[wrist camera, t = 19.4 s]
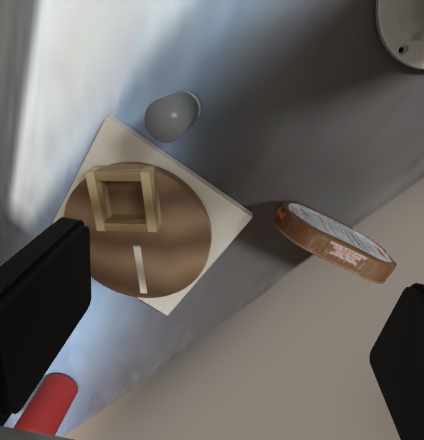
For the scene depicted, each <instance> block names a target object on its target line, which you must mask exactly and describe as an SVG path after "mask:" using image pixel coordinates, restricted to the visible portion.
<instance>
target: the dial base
mask: <svg viewBox="0 0 424 440" xmlns="http://www.w3.org/2000/svg"><path fill="white" fill-rule="evenodd" d="M120 162H142V163H147V164H152V165H155V166H158V167H161V168H163V169H165V170H167V171H169V172H171V173H173V174H174V175H176V176H178V177H179V178H180V179H182V180H183V181H184V182H185V183H187V184H188V185H189V186H190V187H191V188H192V189H193V190H194V191H195V193H196V194H197V195H198V197H199V198H200V199H201V201H202V203H203V205H204V206H205V208H206V211H207V213H208V216H209V220H210V223H211V231H212V240H211V246H210V251H209V256H208V259H207V262H206V265H205V267H204V269H203V271H202V272H201V274H200V275H199V276H198V278H197V279H196V280H195V281H194V282H193V283H192V284H190V285H189V286H188V287H186V288H185V289H183V290H181V291H179V292H177V293H174V294H172V295H168V296H164V297H158V298H140V297H137V298H139V299H140V300H142V301H144V302H145V303H147V304H149V305H150V306H152V307H154V308H155V309H157V310H159V311H160V312H162V313H164V314H166V315H167V316H168V315H169V313H170V312H171V311H172V310H173V309H174V308H175V306H176V305H177V304H178V303H179V302H180V301H181V300H182V298H183V297H184V296H185V295H186V294H187V293H188V291H189V290H190V289H191V288H192V287H193V286H194V285H195V283H196V282H197V281H198V280H199V279H200V278H201V276H202V275H203V274H204V273H205V272H206V271H207V270H208V268H209V267H210V266H211V265H212V264H213V263H214V261H215V260H216V259H217V258H218V257H219V256H220V255H221V253H222V252H223V251H224V250H225V249H226V248H227V246H228V245H229V244H230V243H231V242H232V241H233V240H234V238H235V237H236V236H237V235H238V234H239V233H240V231H241V230H242V229H243V228H244V227H245V226H246V225H247V223H248V222H249V221H250V220H251V219H252V212H251V211H249V210H248V209H246V208H245V207H243V206H242V205H241V204H239V203H238V202H236V201H235V200H233V199H232V198H230V197H229V196H228V195H226V194H225V193H223V192H222V191H220V190H219V189H218V188H216V187H215V186H213V185H212V184H210V183H209V182H208V181H206V180H205V179H203V178H202V177H200V176H199V175H197V174H196V173H195V172H193V171H192V170H190V169H189V168H187V167H186V166H185V165H183V164H182V163H180V162H179V161H177V160H176V159H174V158H173V157H172V156H170V155H169V154H167V153H166V152H164V151H163V150H162V149H160V148H159V147H157V146H156V145H154V144H153V143H152V142H150V141H149V140H147V139H146V138H144V137H143V136H141V135H140V134H139V133H137V132H136V131H134V130H133V129H131V128H130V127H129V126H127V125H126V124H124V123H123V122H121V121H120V120H118V119H117V118H116V117H114V116H113V115H109V116H107V117H106V119H105V120H104V122H103V124H102V126H101V128H100V130H99V132H98V134H97V136H96V138H95V140H94V142H93V144H92V146H91V148H90V150H89V152H88V154H87V156H86V158H85V160H84V162H83V164H82V166H81V168H80V170H79V172H78V174H77V176H76V178H75V180H74V182H73V184H72V186H71V188H70V190H69V191H68V193H67V195H66V197H65V199H64V201H63V203H62V205H61V207H60V209H59V211H58V213H57V215H56V217H55V219H54V221H53V223H54V222H56V221H57V220H58V219H59V218H61V217H64V211H65V207H66V203H67V201H68V199H69V197H70V195H71V193H72V192H73V190H74V189H75V188H76V187H77V186H78V184H79V183H80V182H82V181H83V180H84V179H85V178H86V176H85V172H86V171H87V170H89V169H90V168H92V167H93V166H108V165H111V164H115V163H120ZM53 223H52V224H53Z"/></svg>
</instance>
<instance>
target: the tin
mask: <svg viewBox="0 0 424 440" xmlns="http://www.w3.org/2000/svg"><path fill="white" fill-rule="evenodd" d="M272 221H273V224H274V225H275V227H276V228H277V229H278V230H279V231H280V232H281V233H282V234H283V235H284V236H285V237H286V238H288V239H289V240H290V241H292V242H293V243H295V244H296V245H298V246H299V247H301V248H303V249H304V250H307V251H308V252H310V253H313V254H315V255H317V256H319V257H321V258H323V259H325V260H327V261H329V262H332V263H333V264H336V265H338V266H340V267H342V268H344V269H346V270H348V271H350V272H352V273H354V274H356V275H358V276H360V277H362V278H364V279H367V280H369V281H371V282H375V283H380V284H382V283H384V282H385V281H386V279H387V277H388V276H389V275H390V274H391V273H392V271H393V270H394V269H395V267H396V263H395V262H394V261H393V260H392V258H391V257H390V256H389V255H388V254H387V253H386V251H385V250H384V249H383V248H382V247H381V246H380V245H378V244H377V243H375V242H374V241H372V240H371V239H369V238H368V237H366V236H365V235H363V234H361V233H359V232H358V231H356V230H353V229H352V228H350V227H348V226H346V225H344V224H342V223H340V222H338V221H336V220H334V219H332V218H330V217H328V216H326V215H324V214H322V213H320V212H318V211H316V210H314V209H312V208H310V207H307V206H305V205H303V204H300V203H297V202H294V201H285V202H284V203H283V204H282V205H281V206H280V208H279V209H278V211H277V213H276V215H275V216H273V218H272Z"/></svg>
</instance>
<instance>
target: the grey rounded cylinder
mask: <svg viewBox="0 0 424 440" xmlns="http://www.w3.org/2000/svg"><path fill="white" fill-rule="evenodd" d="M200 114H201V102H200V100H199V98H198V97H197V95H196V94H194V93H193V92H191V91H186V90H185V91H180V92H177V93H175V94H172V95H170V96H167V97H164V98H162V99H159V100H156V101H154V102H153V103H152V104H150V106H149V107H148V108H147V110H146V113H145V124H146V128H147V130H148V131H149V133H150V134H151V135H152V136H153V137H154V138H155V139H157V140H159V141H162V142H172V141H174V140H176V139H178V138H179V137H180V136H181V135H182V134H183V133H184V132H185V131H186V130H187V129H188V128H189V127H190V126H191V125H192V124H193V123H194V122H195V121H196V120H197V119H198V117H199V116H200Z"/></svg>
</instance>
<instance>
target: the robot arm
mask: <svg viewBox="0 0 424 440" xmlns="http://www.w3.org/2000/svg"><path fill="white" fill-rule="evenodd" d="M375 18H376V26H377V31H378V34H379V37H380V40H381V42H382V43H383V45H384V47H385V48H386V50H387V51H388V52H389V53H390V54H391V55H392V56H393V57H394V58H395V59H396V60H397V61H399V62H401V63H402V64H404V65H406V66H409V67H412V68H415V69H424V0H376V9H375ZM400 47H401V48H402V51H401V52H400V53H399V48H400ZM90 302H91V265H90V230H89V227H88V226H85V225H84V222H83V221H82V220H77V219H72V218H66V217H61V218H59V219H58V220H57V221H56V222H54V223H53V224H52V225H51V226H50V227H48V228H47V229H46V230H45V231H43V232H42V233H41V234H40V235H38V236H37V237H36V238H35V239H34V240H32V241H31V242H30V243H29V244H27V245H26V246H25V247H24V248H22V249H21V250H20V251H19V252H18V253H16V254H15V255H14V256H13V257H11V258H10V259H9V260H8V261H6V262H5V263H4V264H3V265H2V266H0V440H73V439H68V438H63V437H58V436H53V435H47V434H42V433H36V432H31V431H25V430H20V429H14V428H9V427H3V425H4V424H5V423H6V421H7V420H8V418H9V417H10V415H11V414H12V413H13V414H16V413H18V412H19V411H20V410H21V409H22V407H23V406H24V405H25V403H26V402H27V400H28V399H29V397H30V395H31V394H32V392H33V391H34V389H35V388H36V386H37V385H38V383H39V382H40V380H41V379H42V377H43V376H44V374H45V373H46V371H47V370H48V368H49V367H50V365H51V364H52V362H53V361H54V359H55V358H56V356H57V355H58V353H59V352H60V350H61V349H62V347H63V346H64V344H65V343H66V341H67V339H68V338H69V336H70V335H71V333H72V332H73V330H74V329H75V327H76V326H77V324H78V323H79V321H80V320H81V318H82V317H83V315H84V314H85V312H86V311H87V309H88V307H89V305H90ZM370 364H371V366H372V369H373V372H374V374H375V377H376V379H377V382H378V384H379V387H380V389H381V392H382V394H383V396H384V399H385V401H386V404H387V406H388V409H389V411H390V414H391V416H392V419H393V421H394V424H395V426H396V429H397V431H398V434H399V436H400V439H401V440H424V285H423V284H418V283H415V284H413V285H412V286H410V287H406V288H405V289H404V291H403V292H402V294H401V296H400V298H399V300H398V302H397V304H396V305H395V307H394V309H393V311H392V313H391V315H390V316H389V318H388V320H387V322H386V324H385V326H384V328H383V330H382V331H381V334H380V335H379V337H378V339H377V341H376V343H375V344H374V346H373V348H372V350H371V352H370Z"/></svg>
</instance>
